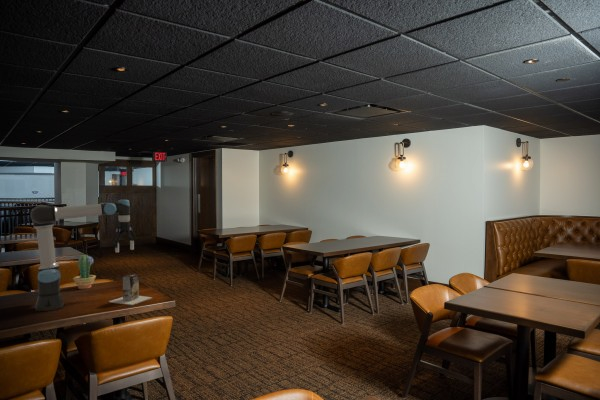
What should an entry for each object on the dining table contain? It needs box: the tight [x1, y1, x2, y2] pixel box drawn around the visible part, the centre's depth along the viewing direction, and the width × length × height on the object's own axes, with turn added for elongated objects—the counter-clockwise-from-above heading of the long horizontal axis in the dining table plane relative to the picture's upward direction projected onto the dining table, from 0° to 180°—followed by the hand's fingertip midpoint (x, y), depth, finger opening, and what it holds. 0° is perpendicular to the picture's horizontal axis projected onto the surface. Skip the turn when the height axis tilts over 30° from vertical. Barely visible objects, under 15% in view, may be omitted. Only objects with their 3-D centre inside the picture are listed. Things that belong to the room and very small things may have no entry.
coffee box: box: [122, 273, 140, 301], centre depth 269 cm, size 9×6×16 cm
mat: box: [108, 295, 153, 306], centre depth 269 cm, size 20×18×1 cm
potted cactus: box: [72, 254, 97, 290], centre depth 307 cm, size 15×15×25 cm
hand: (124, 251), depth 286 cm, fingers open, 13 cm apart
